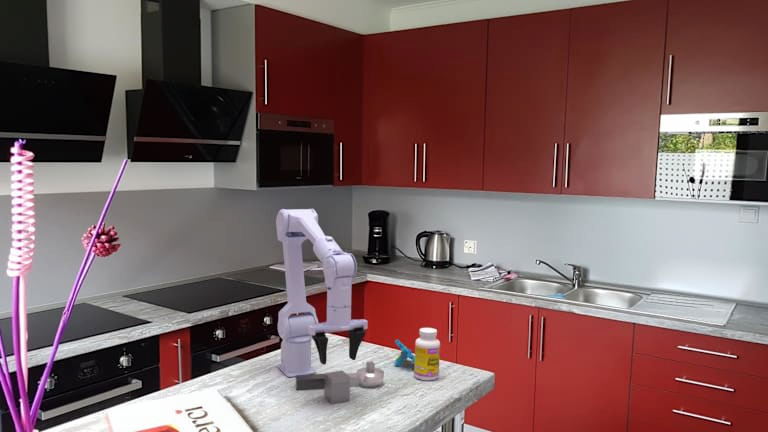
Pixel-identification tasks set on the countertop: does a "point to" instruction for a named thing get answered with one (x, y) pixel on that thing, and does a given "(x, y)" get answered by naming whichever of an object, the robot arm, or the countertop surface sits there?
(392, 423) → the countertop surface
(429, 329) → the supplement bottle
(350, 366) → the countertop surface
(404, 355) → the blue branched piece
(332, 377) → the brushed metal cube
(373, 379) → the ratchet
